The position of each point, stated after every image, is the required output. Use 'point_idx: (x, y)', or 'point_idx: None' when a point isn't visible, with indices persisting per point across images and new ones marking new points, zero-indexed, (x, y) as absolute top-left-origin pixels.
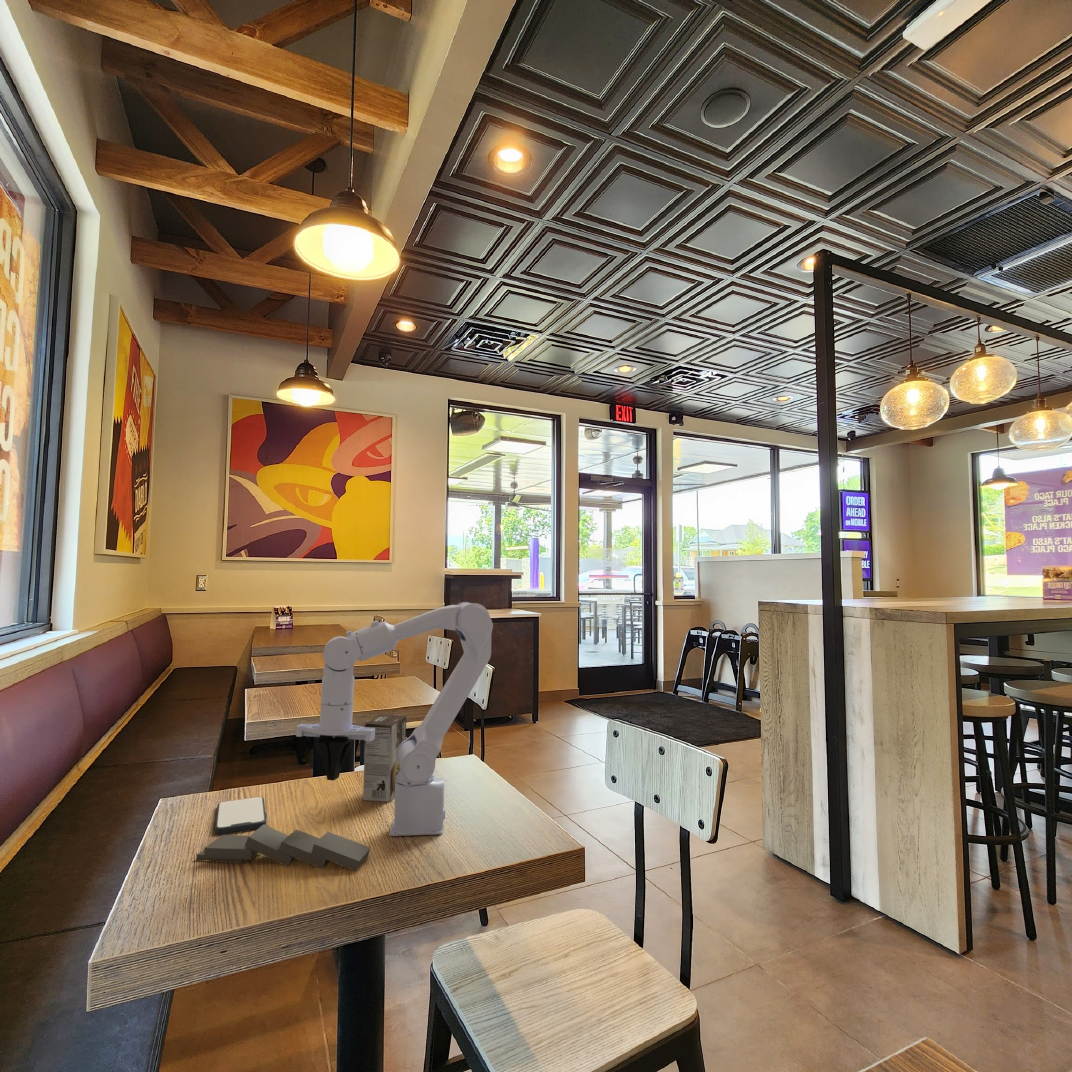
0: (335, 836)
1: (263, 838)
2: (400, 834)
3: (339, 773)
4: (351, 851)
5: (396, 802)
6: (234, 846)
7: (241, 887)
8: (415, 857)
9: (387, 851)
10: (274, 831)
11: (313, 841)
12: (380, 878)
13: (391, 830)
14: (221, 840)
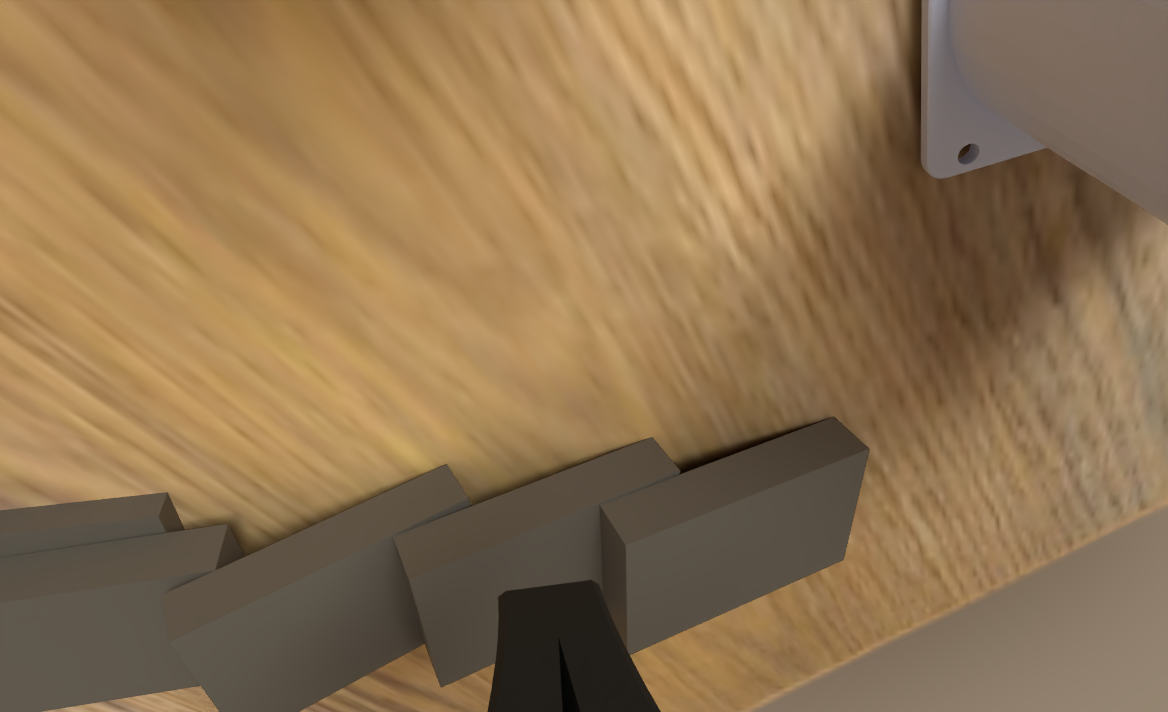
0: (683, 538)
1: (298, 680)
2: (1004, 157)
3: (609, 619)
4: (796, 546)
5: (1106, 174)
6: (146, 676)
7: (405, 702)
8: (1085, 364)
9: (929, 342)
10: (274, 607)
11: (556, 556)
12: (931, 540)
13: (936, 124)
14: None
